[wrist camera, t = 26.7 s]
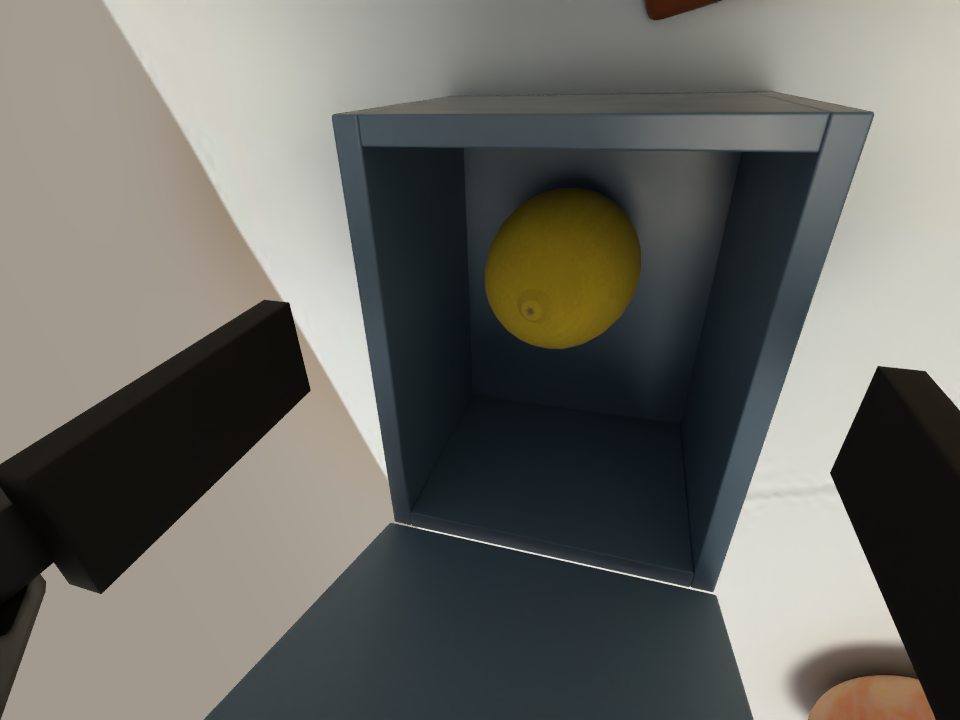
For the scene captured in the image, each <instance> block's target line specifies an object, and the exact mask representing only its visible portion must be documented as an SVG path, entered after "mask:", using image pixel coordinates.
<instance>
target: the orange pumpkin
mask: <svg viewBox="0 0 960 720" xmlns="http://www.w3.org/2000/svg"><path fill="white" fill-rule="evenodd" d="M808 720H936V719H935V717H934V714H933V712H932V710H931V707H930V705H929V703H928V700H927V698H926V696H925V693H924V691H923V689H922V686H921V684H920V682H919V679H915V678H909V677H903V676H893V675H874V676H864V677H859V678H855V679H851V680H848V681H845V682H842V683H840V684H838V685H836V686H834V687H832V688H831V689H829V690H828V691H827V692H826V693H824V694H823V695H822V696H821V697H820V698H819V699H818V701H817V702H816V703H815V705H814V706H813V708H812V710H811V712H810V715H809V718H808Z"/></svg>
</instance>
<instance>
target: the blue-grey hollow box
mask: <svg viewBox="0 0 960 720" xmlns="http://www.w3.org/2000/svg"><path fill="white" fill-rule="evenodd" d="M873 117H874V113H873V112H871V111H866V110H861V109H856V108H851V107H846V106H842V105H837V104H832V103H827V102H822V101H817V100H812V99H807V98H803V97H798V96H793V95H788V94H783V93H778V92H706V93H635V94H564V95H493V96H449V97H442V98H436V99H429V100H423V101H416V102H410V103H403V104H397V105H390V106H384V107H377V108H371V109H364V110H358V111H351V112H345V113H338V114H334V115H332V122H333V128H334V135H335V141H336V147H337V154H338V160H339V167H340V173H341V179H342V186H343V192H344V199H345V205H346V211H347V218H348V224H349V231H350V237H351V243H352V250H353V256H354V263H355V269H356V275H357V282H358V288H359V295H360V301H361V307H362V314H363V320H364V327H365V333H366V339H367V346H368V352H369V359H370V365H371V371H372V378H373V384H374V391H375V397H376V403H377V410H378V416H379V423H380V429H381V435H382V442H383V448H384V455H385V461H386V467H387V474H388V480H389V486H390V493H391V499H392V506H393V512H394V518H395V521H396V522H399V523H404V524H408V525H411V524H412V525H413V526H416V527H421V528H425V529H430V530H434V531H439V532H443V533H448V534H452V535H457V536H461V537H466V538H470V539H475V540H479V541H484V542H488V543H493V544H497V545H502V546H506V547H511V548H515V549H520V550H524V551H529V552H533V553H538V554H542V555H547V556H551V557H556V558H561V559H565V560H570V561H574V562H579V563H583V564H588V565H592V566H597V567H601V568H606V569H610V570H615V571H619V572H624V573H628V574H633V575H637V576H642V577H646V578H651V579H655V580H660V581H664V582H669V583H673V584H678V585H682V586H687V587H690V586H691V587H692V588H696V589H701V590H705V591H710V592H713V591H714V589H715V586H716V583H717V580H718V577H719V574H720V571H721V568H722V565H723V562H724V559H725V556H726V553H727V550H728V547H729V544H730V541H731V538H732V535H733V532H734V530H735V527H736V524H737V521H738V518H739V515H740V512H741V509H742V506H743V503H744V500H745V497H746V494H747V491H748V488H749V485H750V482H751V479H752V476H753V473H754V470H755V467H756V464H757V461H758V458H759V455H760V452H761V449H762V446H763V443H764V440H765V438H766V435H767V432H768V429H769V426H770V423H771V420H772V417H773V414H774V411H775V408H776V405H777V402H778V399H779V396H780V393H781V390H782V387H783V384H784V381H785V378H786V375H787V372H788V369H789V366H790V363H791V360H792V357H793V354H794V351H795V348H796V345H797V343H798V340H799V337H800V334H801V331H802V328H803V325H804V322H805V319H806V316H807V313H808V310H809V307H810V304H811V301H812V298H813V295H814V292H815V289H816V286H817V283H818V280H819V277H820V274H821V271H822V268H823V265H824V262H825V259H826V256H827V253H828V250H829V248H830V245H831V242H832V239H833V236H834V233H835V230H836V227H837V224H838V221H839V218H840V215H841V212H842V209H843V206H844V203H845V200H846V197H847V194H848V191H849V188H850V185H851V182H852V179H853V176H854V173H855V170H856V167H857V164H858V161H859V158H860V155H861V153H862V150H863V147H864V144H865V141H866V138H867V135H868V132H869V129H870V126H871V123H872V120H873ZM558 188H582V189H586V190H590V191H594V192H598V193H600V194H601V195H603V196H605V197H607V198H609V199H610V200H612V201H614V202H615V203H616V204H617V205H618V206H619V207H620V208H621V209H622V210H623V211H624V212H625V213H626V214H627V216H628V218H629V219H630V221H631V223H632V224H633V226H634V228H635V229H636V232H637V236H638V240H639V243H640V247H641V273H640V277H639V280H638V284H637V287H636V291H635V294H634V296H633V298H632V299H631V301H630V303H629V304H628V306H627V308H626V309H625V311H624V313H623V314H622V315H621V317H620V318H619V319H618V320H616V321H615V322H614V323H613V324H612V325H611V326H610V327H609V328H608V329H607V330H606V331H605V332H603V333H602V334H600V335H599V336H597V337H595V338H593V339H591V340H589V341H588V342H586V343H584V344H581V345H577V346H573V347H569V348H565V349H548V348H543V347H539V346H534V345H531V344H529V343H527V342H524V341H522V340H520V339H518V338H517V337H516V336H514V335H513V334H512V333H510V332H509V331H508V330H507V329H506V328H505V327H504V326H503V325H502V324H501V323H500V321H499V320H498V319H497V317H496V315H495V314H494V312H493V310H492V308H491V306H490V304H489V301H488V298H487V294H486V290H485V265H486V261H487V256H488V252H489V248H490V246H491V244H492V242H493V240H494V238H495V236H496V234H497V232H498V230H499V228H500V227H501V225H502V224H503V222H504V221H505V220H506V219H507V218H508V217H509V216H510V215H511V214H512V213H513V212H514V211H515V210H516V209H517V208H518V207H519V206H520V205H521V204H523V203H525V202H526V201H528V200H530V199H531V198H533V197H534V196H536V195H538V194H540V193H544V192H547V191H551V190H554V189H558Z"/></svg>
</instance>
